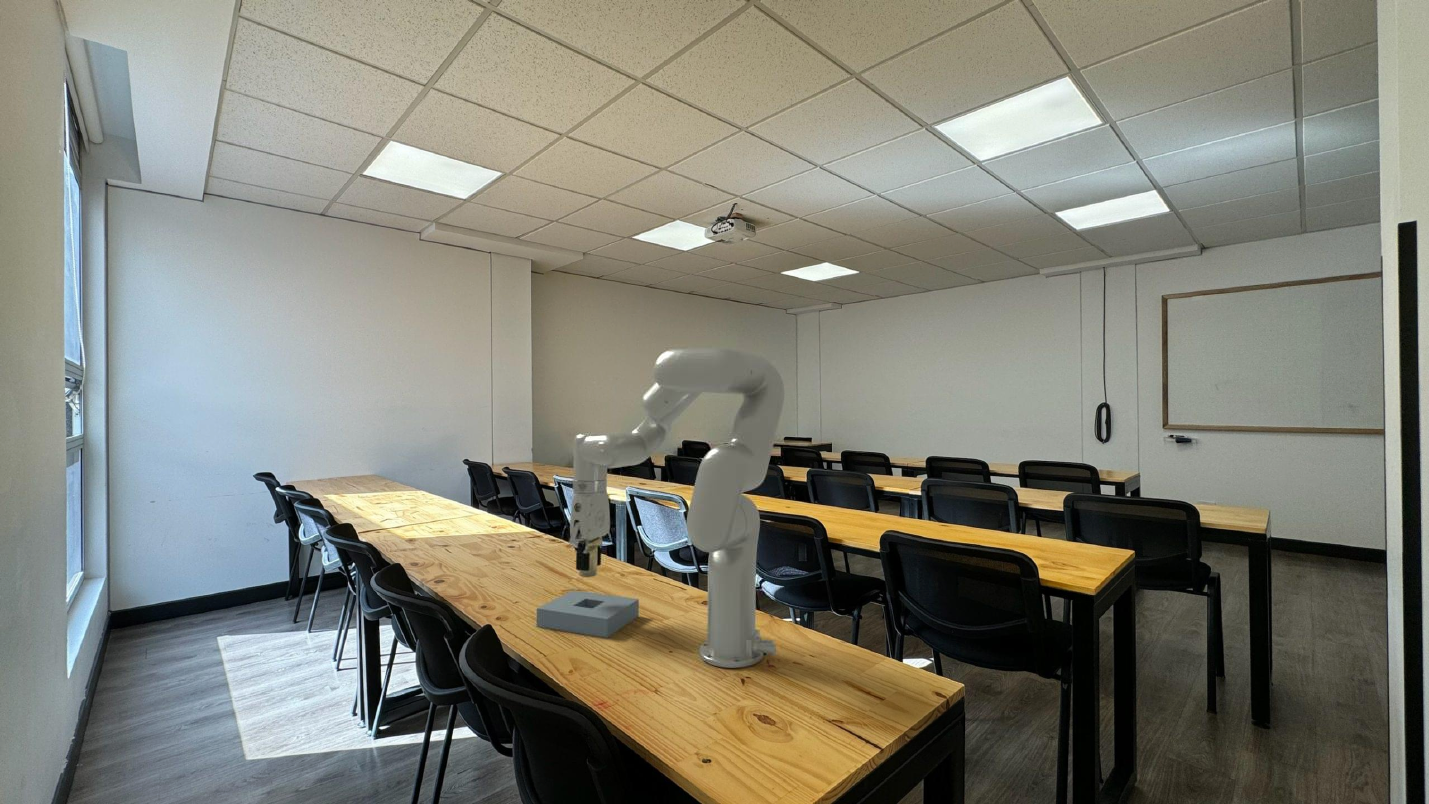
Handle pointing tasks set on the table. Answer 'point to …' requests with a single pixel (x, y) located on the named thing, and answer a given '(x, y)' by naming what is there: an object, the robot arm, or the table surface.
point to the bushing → (591, 557)
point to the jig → (588, 613)
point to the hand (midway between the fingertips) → (588, 566)
